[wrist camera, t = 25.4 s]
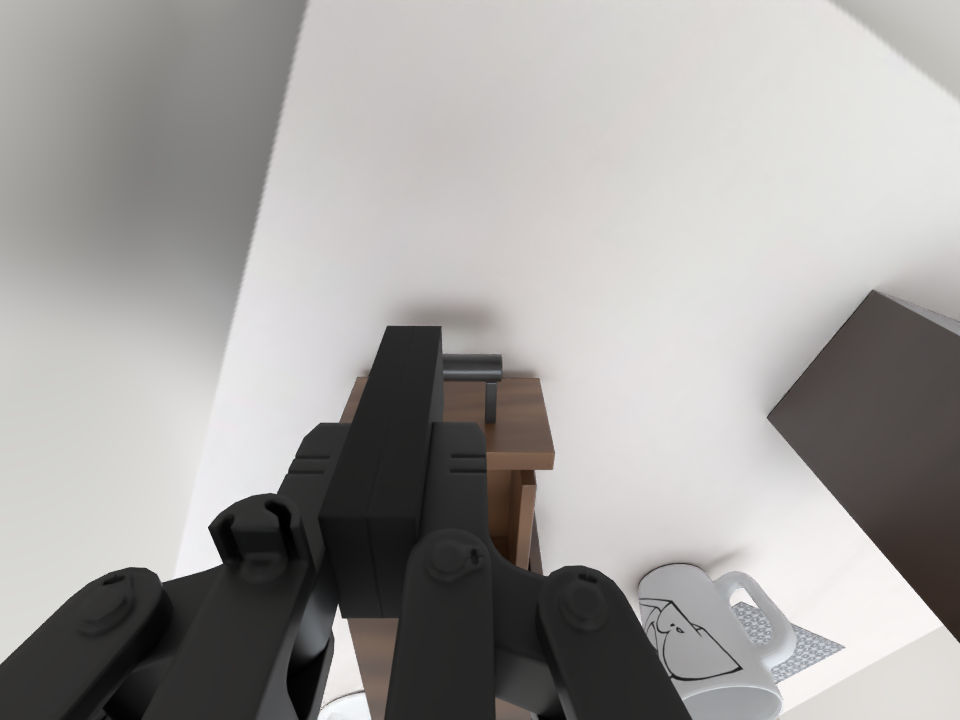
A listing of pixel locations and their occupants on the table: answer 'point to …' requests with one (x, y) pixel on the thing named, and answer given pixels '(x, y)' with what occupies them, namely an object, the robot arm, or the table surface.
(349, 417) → the drawer
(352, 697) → the desk lamp
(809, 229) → the table surface
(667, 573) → the mug
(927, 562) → the stand
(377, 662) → the cabinet
